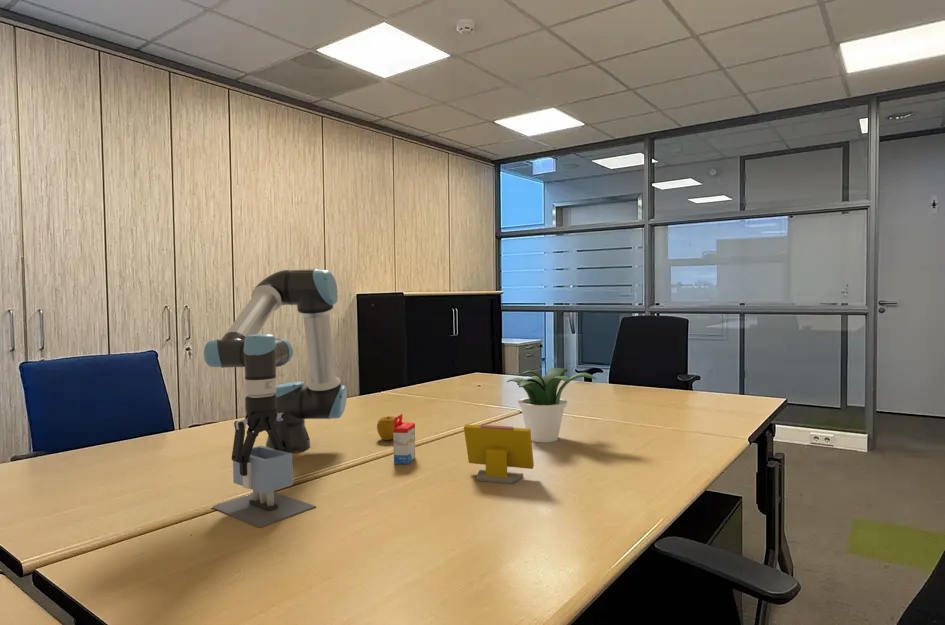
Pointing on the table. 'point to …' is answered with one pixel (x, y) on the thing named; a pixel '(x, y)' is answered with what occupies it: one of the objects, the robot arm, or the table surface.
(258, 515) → the header
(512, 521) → the table surface
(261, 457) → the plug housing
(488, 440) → the yellow framed monitor
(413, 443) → the ink box
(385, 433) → the apple
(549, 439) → the potted plant
